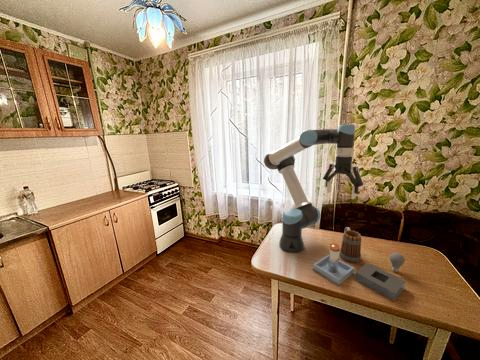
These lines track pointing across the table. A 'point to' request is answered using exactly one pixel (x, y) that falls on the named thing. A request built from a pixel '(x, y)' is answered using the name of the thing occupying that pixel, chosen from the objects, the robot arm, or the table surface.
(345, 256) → the mug
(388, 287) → the hitch block
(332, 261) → the pin
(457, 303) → the table surface
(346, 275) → the tray
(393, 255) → the light bulb
